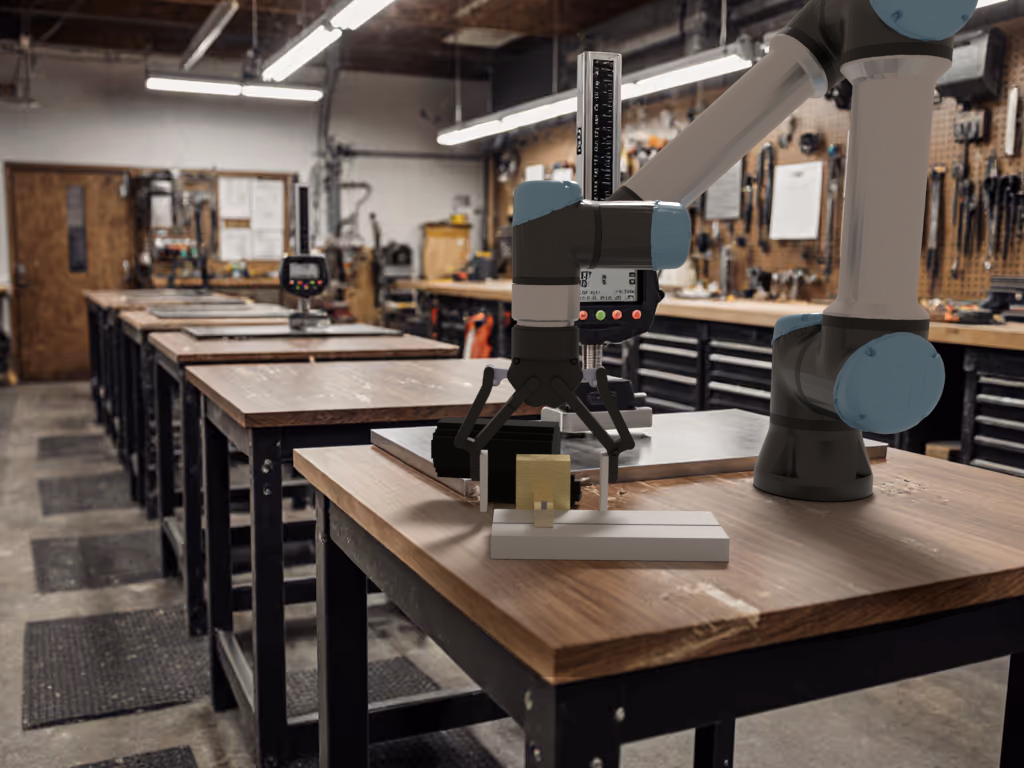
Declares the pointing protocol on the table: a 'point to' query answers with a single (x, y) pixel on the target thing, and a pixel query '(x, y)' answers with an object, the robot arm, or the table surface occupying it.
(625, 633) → the table surface
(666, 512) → the board
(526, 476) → the pale yellow block
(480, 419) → the security camera
